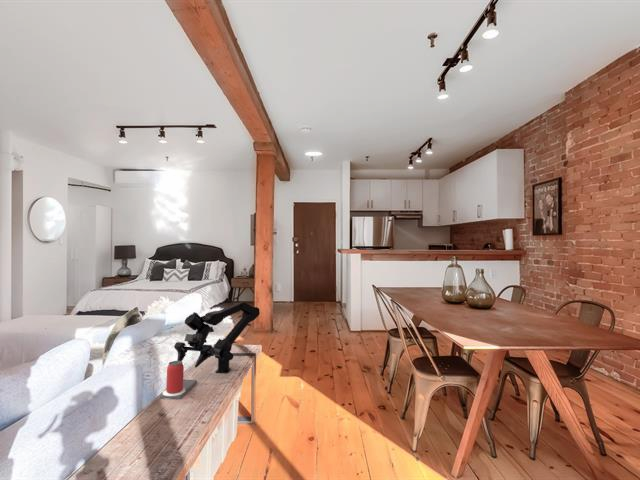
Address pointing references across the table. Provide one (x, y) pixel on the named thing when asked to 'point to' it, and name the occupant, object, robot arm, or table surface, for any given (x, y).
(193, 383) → the charging dock
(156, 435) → the table surface
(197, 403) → the table surface
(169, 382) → the beer can
